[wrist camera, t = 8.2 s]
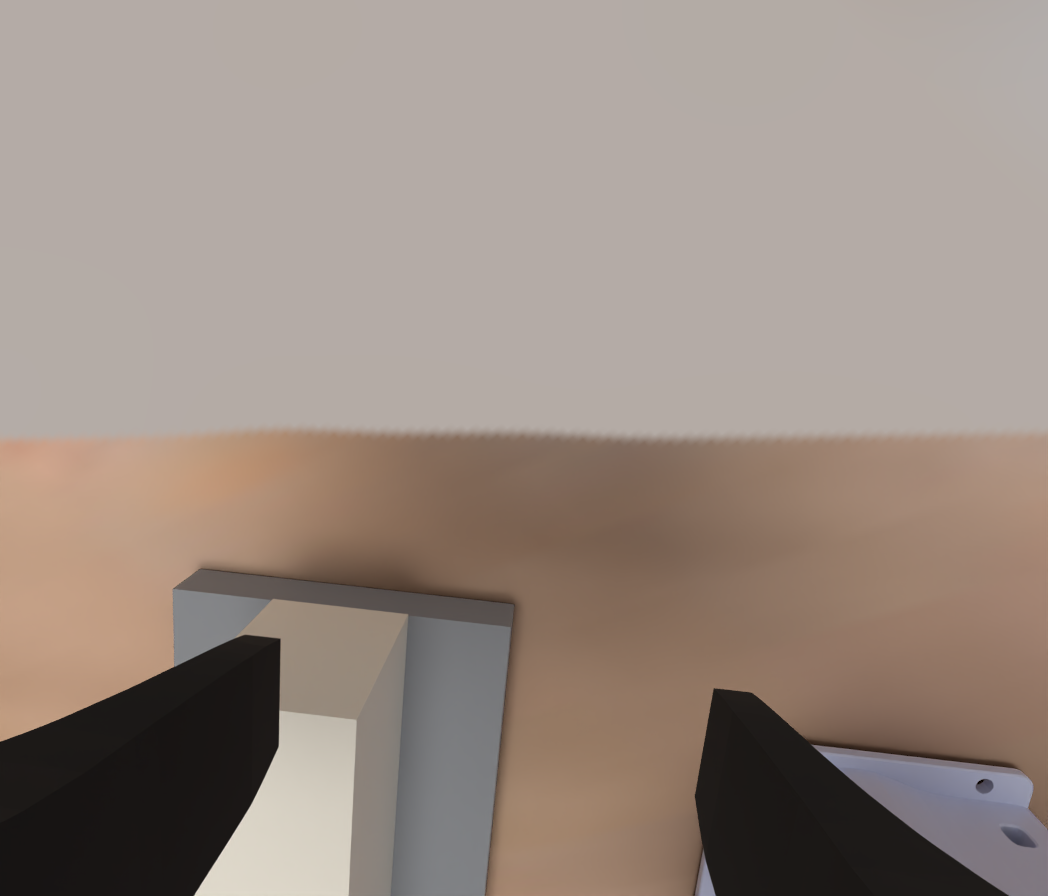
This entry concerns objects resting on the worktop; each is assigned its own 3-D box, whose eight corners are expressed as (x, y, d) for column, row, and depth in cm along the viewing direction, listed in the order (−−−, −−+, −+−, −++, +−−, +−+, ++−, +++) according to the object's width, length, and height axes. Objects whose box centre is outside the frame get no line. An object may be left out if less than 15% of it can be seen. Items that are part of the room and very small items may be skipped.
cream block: (408, 614, 19) (356, 719, 14) (388, 923, 22) (338, 1105, 17) (273, 598, 19) (176, 698, 14) (268, 908, 22) (184, 1083, 17)
